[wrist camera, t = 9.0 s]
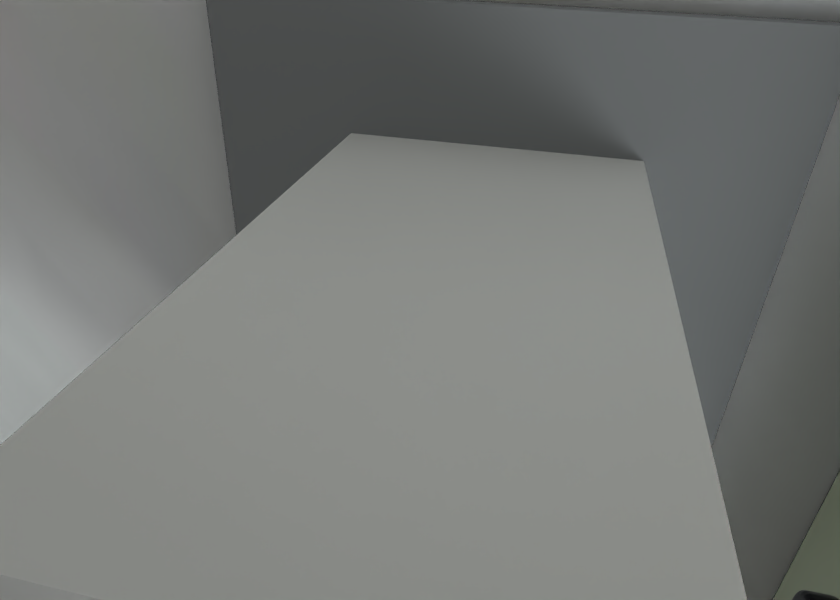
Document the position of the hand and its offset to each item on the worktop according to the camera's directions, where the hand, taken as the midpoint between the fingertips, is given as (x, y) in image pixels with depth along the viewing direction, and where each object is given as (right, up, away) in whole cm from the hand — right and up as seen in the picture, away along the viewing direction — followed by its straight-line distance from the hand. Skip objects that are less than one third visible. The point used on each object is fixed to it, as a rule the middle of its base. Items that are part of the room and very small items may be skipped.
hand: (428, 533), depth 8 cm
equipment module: (+1, +2, +3) cm, 4 cm away
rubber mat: (+1, +2, +4) cm, 4 cm away
